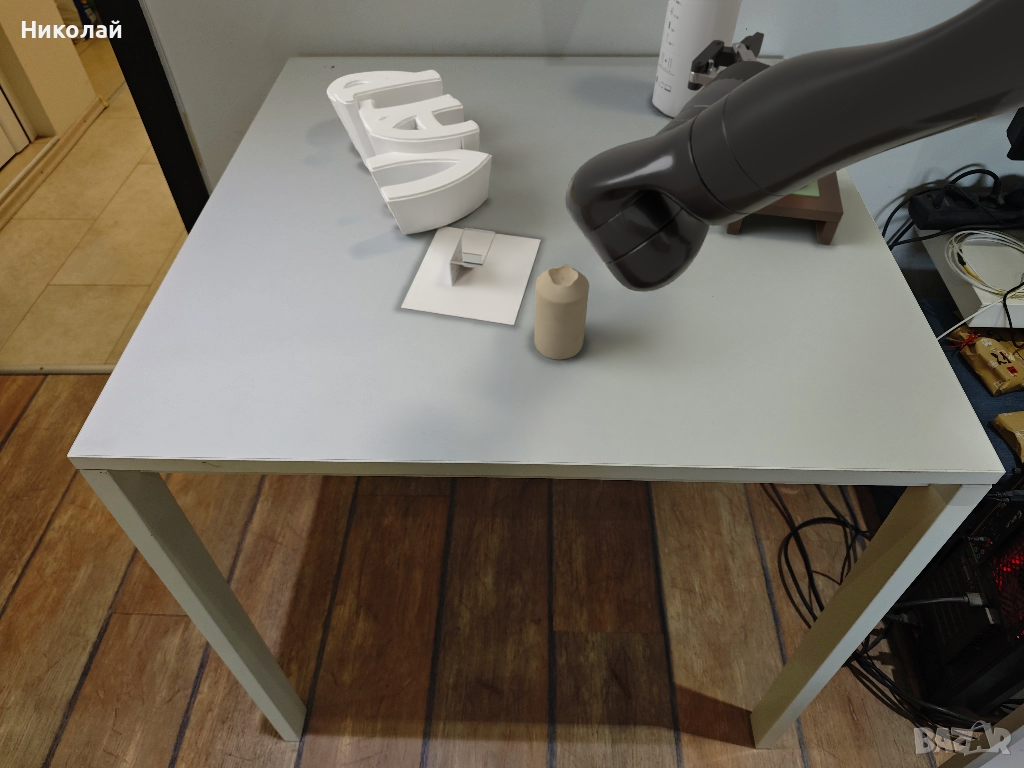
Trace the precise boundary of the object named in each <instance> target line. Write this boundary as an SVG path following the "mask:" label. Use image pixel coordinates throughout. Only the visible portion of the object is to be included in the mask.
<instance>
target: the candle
mask: <svg viewBox="0 0 1024 768" xmlns="http://www.w3.org/2000/svg"><path fill="white" fill-rule="evenodd" d="M589 293H590V281H589V280H588V278H587V276H585V274H583V273H582V272H580V271H579V270H578V269H576V268H574V267H573V266H571V265H570V264H566V263H565V264H563V265H560V266H554V267H551V268H548V269H545V270H544V271H543V272H542V273H540V274H539V275H538V277H537V278H536V280H535V297H534V298H535V299H534V330H533V342H534V346H535V348H536V350H537V352H539V354H541V355H543V356H544V357H545V358H548V359H551V360H567V359H570V358H573V357H575V356H577V354H579V353H580V352H581V350H582V349H583V345H584V339H585V331H586V320H587V312H588V311H587V310H588V304H589V303H588V302H589Z"/></svg>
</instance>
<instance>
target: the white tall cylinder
mask: <svg viewBox="0 0 1024 768" xmlns="http://www.w3.org/2000/svg"><path fill="white" fill-rule="evenodd" d="M742 2H743V0H668V1H667V7H666V13H665V19H664V26H663V31H662V37H661V43H660V49H659V50H660V51H659V57H658V61H657V68H656V75H655V81H654V87H653V94H652V100H651V101H652V102H651V103H652V105H653V107H654V108H655V109H656V111H658V112H659V113H661V114H663V115H665V116H666V117H669V118H671V119H674V118H675V117H676V116H677V115H678V114H679V113H680V111H681V110H682V108H683V107H684V106H685V105H686V103H687V102H688V101H689V100H690V99H691V98H693V97H694V96H695V95H696V94H697V93H698V92H699V91H700V90H702V89H703V88H704V87H705V86H704V85H703V86H702V87H701V88H700V89H699V90H697V91H693V90H690V89H688V88H687V86H688V81H689V75H690V70H691V65H692V61H693V60H694V59H695V58H696V57H697V56H698V55H699V54H700V53H701V52H702V51H703V50H704V49H705V48H706V47H707V46H708V45H709V44H710V43H711V42H712V41H714V40H721V41H723V42H724V43H725V44H724V46H727V47H732V44H733V41H734V37H735V36H734V35H735V31H736V27H737V24H738V23H737V22H738V19H739V14H740V11H741V7H742ZM725 68H727V67H723V66H720V67H719V69H718V70H717V72H716V73H719V72H720V71H722V70H724V69H725Z"/></svg>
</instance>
